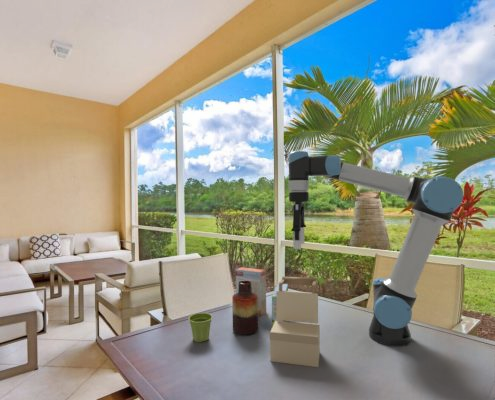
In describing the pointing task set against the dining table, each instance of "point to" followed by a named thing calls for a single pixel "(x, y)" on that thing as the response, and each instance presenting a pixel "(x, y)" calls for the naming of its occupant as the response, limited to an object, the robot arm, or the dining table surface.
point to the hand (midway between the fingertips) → (299, 246)
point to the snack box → (284, 288)
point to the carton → (295, 343)
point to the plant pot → (200, 326)
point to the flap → (297, 301)
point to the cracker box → (254, 284)
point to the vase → (245, 310)
